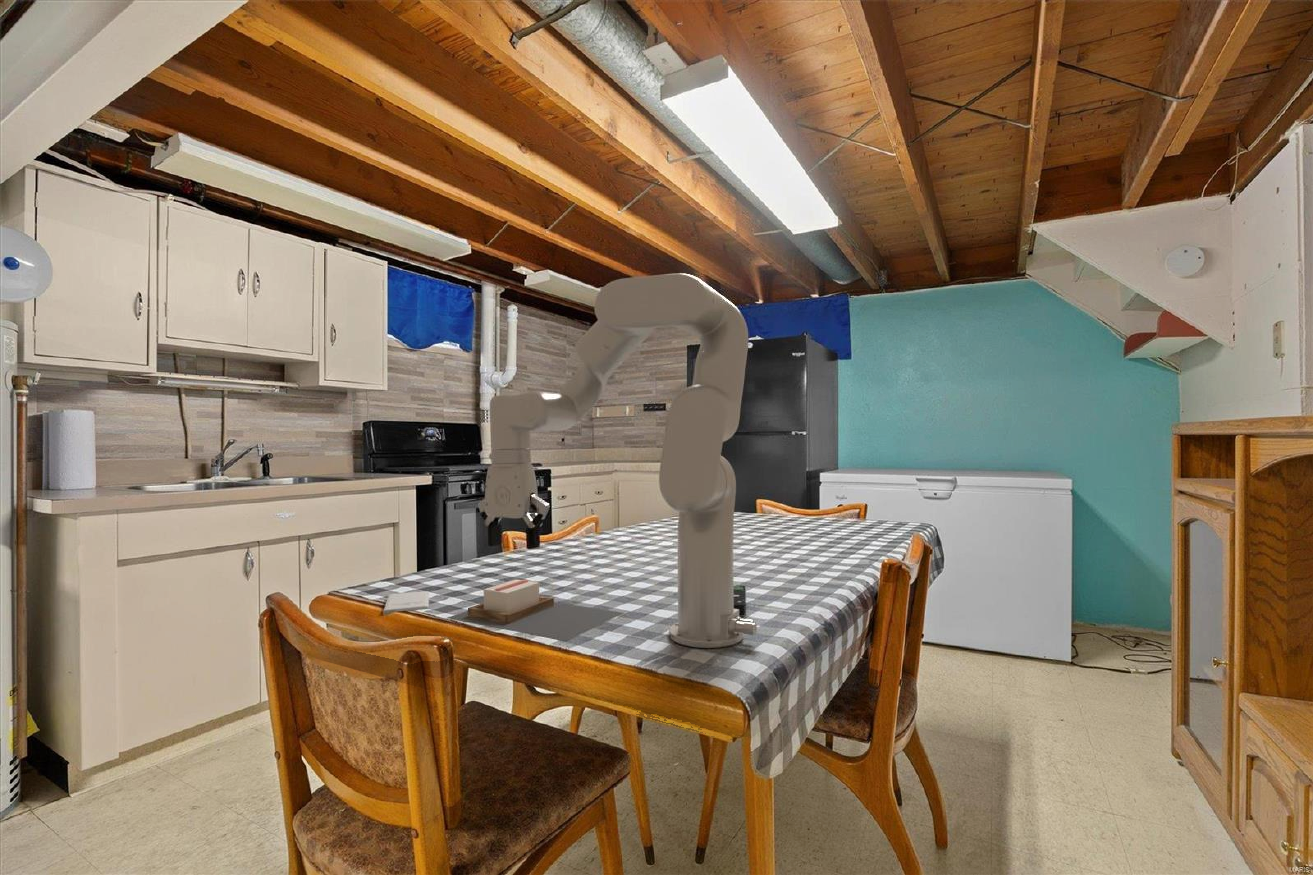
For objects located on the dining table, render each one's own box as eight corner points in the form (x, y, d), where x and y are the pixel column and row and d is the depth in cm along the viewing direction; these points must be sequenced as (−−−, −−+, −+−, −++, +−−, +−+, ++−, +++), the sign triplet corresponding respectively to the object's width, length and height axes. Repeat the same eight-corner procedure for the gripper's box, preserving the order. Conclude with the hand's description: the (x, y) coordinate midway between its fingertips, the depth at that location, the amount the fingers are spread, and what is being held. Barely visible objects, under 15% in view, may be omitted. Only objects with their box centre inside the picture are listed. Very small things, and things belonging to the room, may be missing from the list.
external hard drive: (429, 598, 132) (428, 613, 121) (388, 601, 130) (383, 617, 118) (429, 590, 132) (428, 605, 121) (388, 594, 130) (383, 609, 118)
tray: (553, 606, 122) (553, 598, 122) (508, 624, 110) (508, 615, 110) (515, 599, 126) (515, 592, 126) (467, 616, 115) (467, 608, 115)
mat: (623, 615, 116) (623, 612, 116) (566, 643, 101) (566, 640, 101) (512, 597, 130) (512, 595, 130) (446, 620, 114) (446, 617, 114)
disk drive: (746, 619, 116) (745, 597, 130) (746, 604, 116) (745, 584, 130) (692, 617, 117) (697, 596, 132) (692, 603, 117) (697, 583, 132)
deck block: (507, 617, 113) (507, 592, 113) (483, 612, 116) (483, 588, 116) (539, 605, 121) (539, 581, 121) (516, 601, 124) (516, 578, 124)
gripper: (464, 460, 119) (467, 547, 119) (533, 458, 111) (535, 552, 111) (491, 458, 126) (494, 541, 125) (558, 457, 117) (561, 545, 117)
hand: (513, 546), depth 118 cm, fingers open, 9 cm apart
